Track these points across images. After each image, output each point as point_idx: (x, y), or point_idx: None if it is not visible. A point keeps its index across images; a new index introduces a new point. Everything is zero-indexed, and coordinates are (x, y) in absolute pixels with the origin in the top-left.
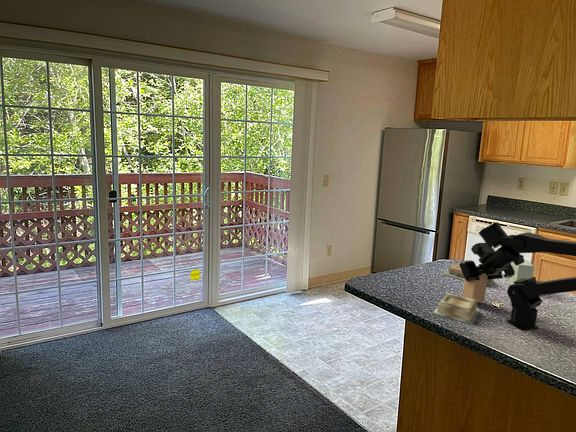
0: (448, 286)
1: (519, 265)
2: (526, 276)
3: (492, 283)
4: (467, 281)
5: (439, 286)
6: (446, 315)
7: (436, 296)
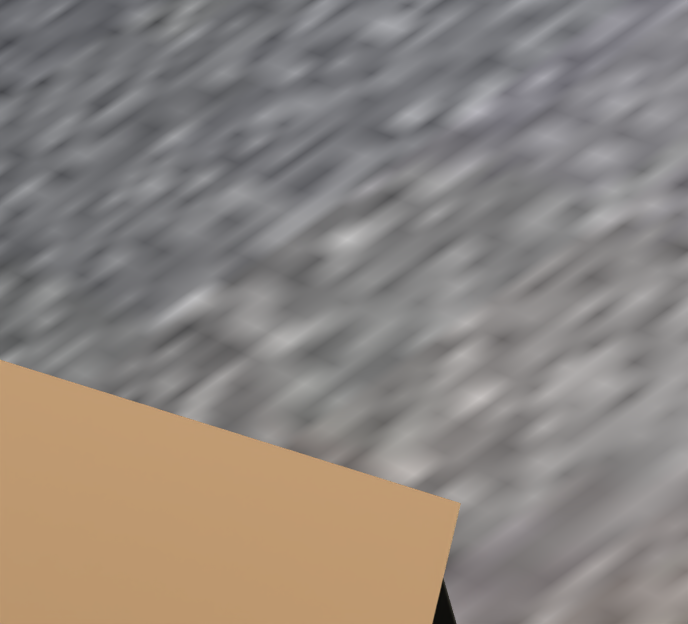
0: (476, 116)
1: None
2: None
3: None
4: None
5: (380, 81)
6: None
7: (87, 252)
